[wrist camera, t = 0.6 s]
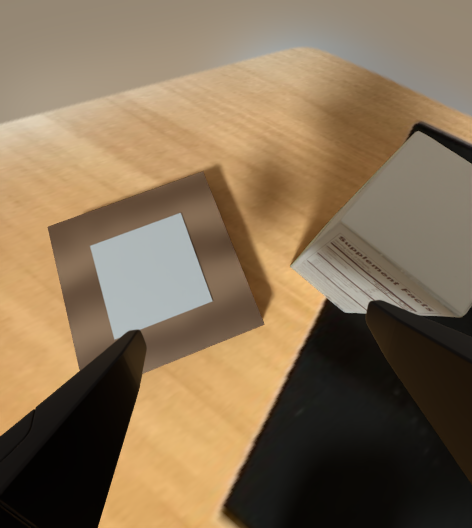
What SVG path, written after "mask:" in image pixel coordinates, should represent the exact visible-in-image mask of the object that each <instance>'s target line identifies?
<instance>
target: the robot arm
mask: <svg viewBox="0 0 472 528" xmlns="http://www.w3.org/2000/svg"><path fill="white" fill-rule="evenodd" d="M366 322H367V325H368V327H369V328H370V330H371V332H372V334H373V336H374V338H375V339H376V341H377V343H378V345H379V347H380V349H381V350H382V352H383V354H384V356H385V357H386V359H387V361H388V362H389V364H390V365H391V367H392V368H393V370H394V371H395V373H396V374H397V375H398V377H399V378H400V380H401V381H402V383H403V384H404V386H405V387H406V389H407V390H408V392H409V393H410V395H411V396H412V397H413V399H414V400H415V402H416V403H417V405H418V406H419V408H420V409H421V411H422V412H423V414H424V415H425V416H426V418H427V419H428V421H429V422H430V424H431V425H432V427H433V428H434V430H435V431H436V433H437V434H438V436H439V437H440V438H441V440H442V441H443V443H444V444H445V446H446V447H447V449H448V450H449V452H450V453H451V455H452V456H453V458H454V459H455V460H456V462H457V463H458V465H459V466H460V468H461V469H462V471H463V472H464V474H465V475H466V477H467V478H468V480H469V481H470V482H471V484H472V337H470V336H468V335H465V334H463V333H461V332H458V331H456V330H453V329H451V328H448V327H446V326H444V325H441V324H439V323H436V322H434V321H431V320H429V319H427V318H424V317H422V316H419V315H417V314H414V313H412V312H409V311H407V310H405V309H402V308H400V307H397V306H395V305H392V304H390V303H388V302H385V301H383V300H374V301H370V302H369V303H368V307H367V313H366ZM146 351H147V346H146V342H145V340H144V337H143V335H142V332H141V331H140V330H139V329H136V330H129V331H128V332H126V333H125V334H124V335H123V336H121V337H120V338H119V339H118V340H117V341H115V342H114V343H113V344H112V345H111V346H109V347H108V348H107V349H106V350H105V351H103V352H102V353H101V354H100V355H98V356H97V357H96V358H95V359H94V360H92V361H91V362H90V363H89V364H88V365H86V366H85V367H84V368H83V369H82V370H80V371H79V372H78V373H77V374H76V375H74V376H73V377H72V378H71V379H70V380H68V381H67V382H66V383H65V384H63V385H62V386H61V387H60V388H59V389H57V390H56V391H55V392H54V393H53V394H51V395H50V396H49V397H48V398H47V399H45V400H44V401H43V402H42V403H41V404H39V405H38V406H37V407H36V409H34V410H32V411H31V412H30V413H28V414H27V415H26V416H25V417H24V418H22V419H21V420H20V421H19V422H17V423H16V424H15V425H14V426H13V427H11V428H10V429H9V430H8V431H6V432H5V433H4V434H3V435H1V436H0V528H98V525H99V522H100V518H101V515H102V512H103V508H104V505H105V502H106V498H107V495H108V492H109V488H110V485H111V482H112V478H113V475H114V472H115V469H116V465H117V462H118V459H119V455H120V452H121V449H122V445H123V442H124V439H125V435H126V432H127V429H128V425H129V422H130V419H131V415H132V412H133V409H134V405H135V402H136V399H137V395H138V392H139V388H140V383H141V378H142V372H143V367H144V362H145V356H146Z"/></svg>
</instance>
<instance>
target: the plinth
mask: <svg viewBox="0 0 472 528" xmlns="http://www.w3.org/2000/svg"><path fill="white" fill-rule="evenodd" d="M48 231H49V235H50V240H51V244H52V249H53V253H54V258H55V262H56V266H57V271H58V275H59V280H60V284H61V289H62V293H63V298H64V302H65V307H66V311H67V316H68V320H69V325H70V329H71V334H72V338H73V343H74V347H75V352H76V356H77V361H78V365H79V369H80V370H82V369H83V368H84V367H85V366H86V365H88V364H89V363H90V362H91V361H92V360H94V359H95V358H96V357H97V356H98V355H100V354H101V353H102V352H103V351H105V350H106V349H107V348H108V347H109V346H111V345H112V344H113V343H114V342H115V341H117V340H118V339H119V338H120V337H121V336H123V335H124V334H125V333H126V332H128V331H129V330H136V329H139V330H140V331H141V332H142V335H143V337H144V340H145V342H146V346H147V351H146V356H145V362H144V367H143V372H142V374H143V373H145V372H148V371H150V370H153V369H155V368H158V367H160V366H163V365H165V364H168V363H170V362H173V361H175V360H178V359H180V358H183V357H185V356H188V355H190V354H193V353H195V352H198V351H200V350H202V349H205V348H207V347H210V346H212V345H215V344H217V343H220V342H222V341H225V340H227V339H230V338H232V337H235V336H237V335H240V334H242V333H245V332H247V331H250V330H252V329H255V328H257V327H260V326H262V325H264V322H263V320H262V317H261V315H260V312H259V310H258V307H257V305H256V302H255V300H254V297H253V295H252V292H251V290H250V287H249V285H248V282H247V280H246V277H245V275H244V272H243V270H242V267H241V265H240V262H239V260H238V257H237V255H236V252H235V250H234V247H233V245H232V242H231V240H230V237H229V235H228V232H227V230H226V227H225V225H224V222H223V220H222V217H221V215H220V212H219V210H218V208H217V205H216V203H215V200H214V198H213V195H212V193H211V190H210V188H209V185H208V183H207V180H206V178H205V175H204V173H203V171H202V172H200V173H197V174H194V175H191V176H188V177H186V178H183V179H180V180H177V181H174V182H172V183H169V184H166V185H163V186H160V187H158V188H155V189H152V190H149V191H146V192H144V193H141V194H138V195H135V196H132V197H130V198H127V199H124V200H121V201H118V202H116V203H113V204H110V205H107V206H104V207H102V208H99V209H96V210H93V211H90V212H88V213H85V214H82V215H79V216H77V217H74V218H71V219H68V220H65V221H63V222H60V223H57V224H54V225H51V226H49V227H48Z"/></svg>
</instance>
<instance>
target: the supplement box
mask: <svg viewBox="0 0 472 528" xmlns="http://www.w3.org/2000/svg"><path fill="white" fill-rule="evenodd" d="M290 267H291V268H292V269H293V270H295V271H296V272H297V273H298V274H299V275H301V276H302V277H303V278H304V279H305V280H306V281H308V282H309V283H310V284H311V285H312V286H314V287H315V288H316V289H317V290H318V291H320V292H321V293H322V294H323V295H324V296H325V297H327V298H328V299H329V300H330V301H331V302H333V303H334V304H335V305H336V306H337V307H339V308H340V309H341V310H342V311H343V312H347V313H367V307H368V303H369V302H370V301H374V300H383V301H385V302H388V303H390V304H392V305H395V306H397V307H400V308H402V309H405V310H407V311H409V312H412V313H414V314H417V315H426V316H447V317H462V316H464V315H465V314H466V313H467V312H468V310H469V308H470V307H471V306H472V164H471V163H469V162H468V161H466V160H465V159H463V158H462V157H460V156H458V155H457V154H455V153H454V152H452V151H451V150H449V149H447V148H446V147H444V146H443V145H442V144H440V143H438V142H437V141H435V140H434V139H432V138H431V137H429V136H427V135H425V134H423V133H422V132H420V131H417V132H415V133H414V134H413V135H412V136H411V137H410V138H409V139H408V140H407V141H406V142H405V143H404V144H403V145H402V146H401V147H400V148H399V149H398V150H397V151H396V152H395V153H394V154H393V155H392V156H391V157H390V158H389V159H388V160H387V161H386V162H385V163H384V164H383V165H382V167H381V168H380V169H379V170H378V171H377V172H376V173H375V174H374V175H373V176H372V177H371V178H370V179H369V180H368V181H367V182H366V183H365V184H364V185H363V186H362V187H361V188H360V189H359V190H358V191H357V192H356V193H355V195H354V196H353V197H352V198H351V199H350V200H349V201H348V202H347V203H346V204H345V205H344V206H343V207H342V208H341V209H340V210H339V211H338V212H337V213H336V214H335V215H334V216H333V217H332V218H331V219H330V221H329V222H328V223H327V224H326V225H325V226H324V227H323V229H322V230H321V231H320V232H319V233H318V234H317V236H316V237H315V238H314V239H313V240H312V241H311V242H310V244H309V245H308V246H307V247H306V248H305V249H304V251H303V252H302V253H301V254H300V255H299V256H298V258H297V259H296V260H295V261H294V262H293V263H292V264H291V265H290Z"/></svg>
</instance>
